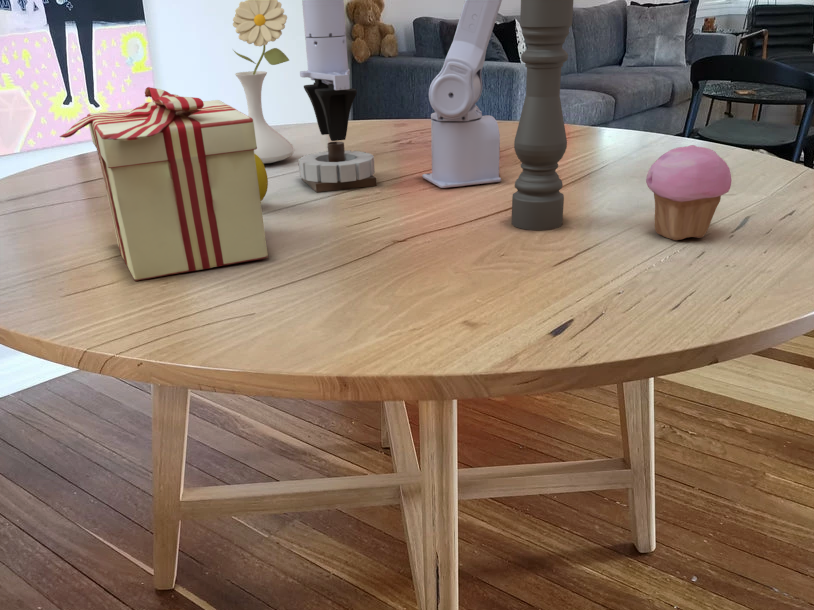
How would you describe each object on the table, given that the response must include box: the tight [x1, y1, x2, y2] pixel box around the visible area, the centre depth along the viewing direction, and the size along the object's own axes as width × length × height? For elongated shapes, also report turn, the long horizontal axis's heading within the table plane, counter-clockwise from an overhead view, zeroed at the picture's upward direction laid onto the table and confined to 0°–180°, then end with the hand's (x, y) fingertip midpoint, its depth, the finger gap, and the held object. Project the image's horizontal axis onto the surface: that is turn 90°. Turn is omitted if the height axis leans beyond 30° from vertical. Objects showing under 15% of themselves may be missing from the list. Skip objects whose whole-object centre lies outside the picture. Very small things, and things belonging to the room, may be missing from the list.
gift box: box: [59, 86, 269, 282], centre depth 88 cm, size 17×18×17 cm
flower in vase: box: [232, 0, 295, 165], centre depth 131 cm, size 13×11×25 cm
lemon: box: [254, 154, 269, 202], centre depth 108 cm, size 6×6×8 cm
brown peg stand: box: [301, 141, 377, 193], centre depth 121 cm, size 9×9×6 cm
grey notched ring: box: [298, 149, 376, 183], centre depth 121 cm, size 11×11×2 cm
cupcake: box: [645, 144, 732, 241], centre depth 91 cm, size 9×9×10 cm
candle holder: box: [511, 0, 574, 231], centre depth 94 cm, size 6×6×25 cm
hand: (333, 137), depth 122 cm, fingers open, 5 cm apart
